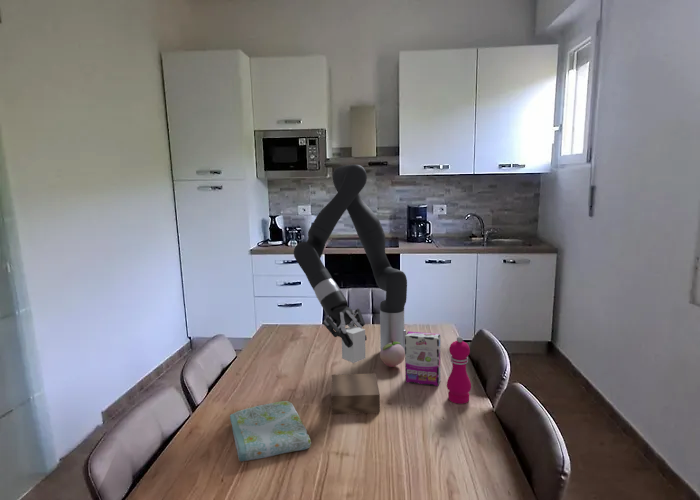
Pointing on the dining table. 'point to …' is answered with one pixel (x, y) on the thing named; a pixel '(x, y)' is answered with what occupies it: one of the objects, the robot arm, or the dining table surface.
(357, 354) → the pale grey block
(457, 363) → the pepper mill
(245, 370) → the dining table surface
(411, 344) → the candy bar box
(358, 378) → the walnut block
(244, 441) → the towel
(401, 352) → the decorative fruit
